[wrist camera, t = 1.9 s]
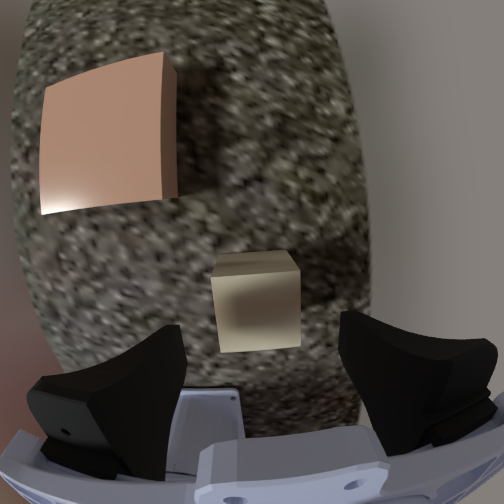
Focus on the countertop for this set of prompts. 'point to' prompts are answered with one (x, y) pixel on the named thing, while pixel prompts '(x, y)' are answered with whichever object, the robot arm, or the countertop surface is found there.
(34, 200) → the countertop surface
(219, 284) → the metal block
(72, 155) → the terracotta box
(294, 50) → the countertop surface
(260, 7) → the countertop surface
